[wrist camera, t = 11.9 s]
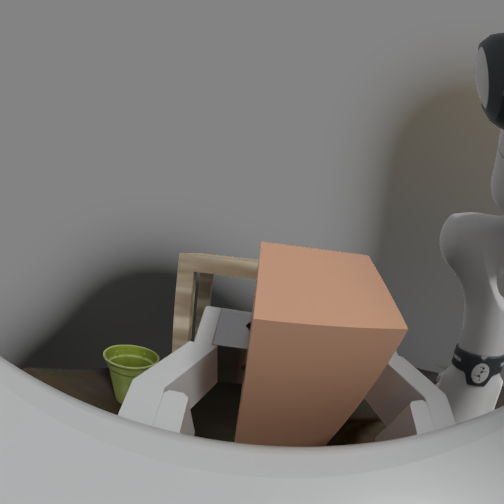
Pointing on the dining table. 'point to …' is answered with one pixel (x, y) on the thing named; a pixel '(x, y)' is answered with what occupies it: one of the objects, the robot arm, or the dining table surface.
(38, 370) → the dining table surface
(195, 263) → the frame
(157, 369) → the robot arm
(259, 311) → the mallet
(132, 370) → the plant pot
